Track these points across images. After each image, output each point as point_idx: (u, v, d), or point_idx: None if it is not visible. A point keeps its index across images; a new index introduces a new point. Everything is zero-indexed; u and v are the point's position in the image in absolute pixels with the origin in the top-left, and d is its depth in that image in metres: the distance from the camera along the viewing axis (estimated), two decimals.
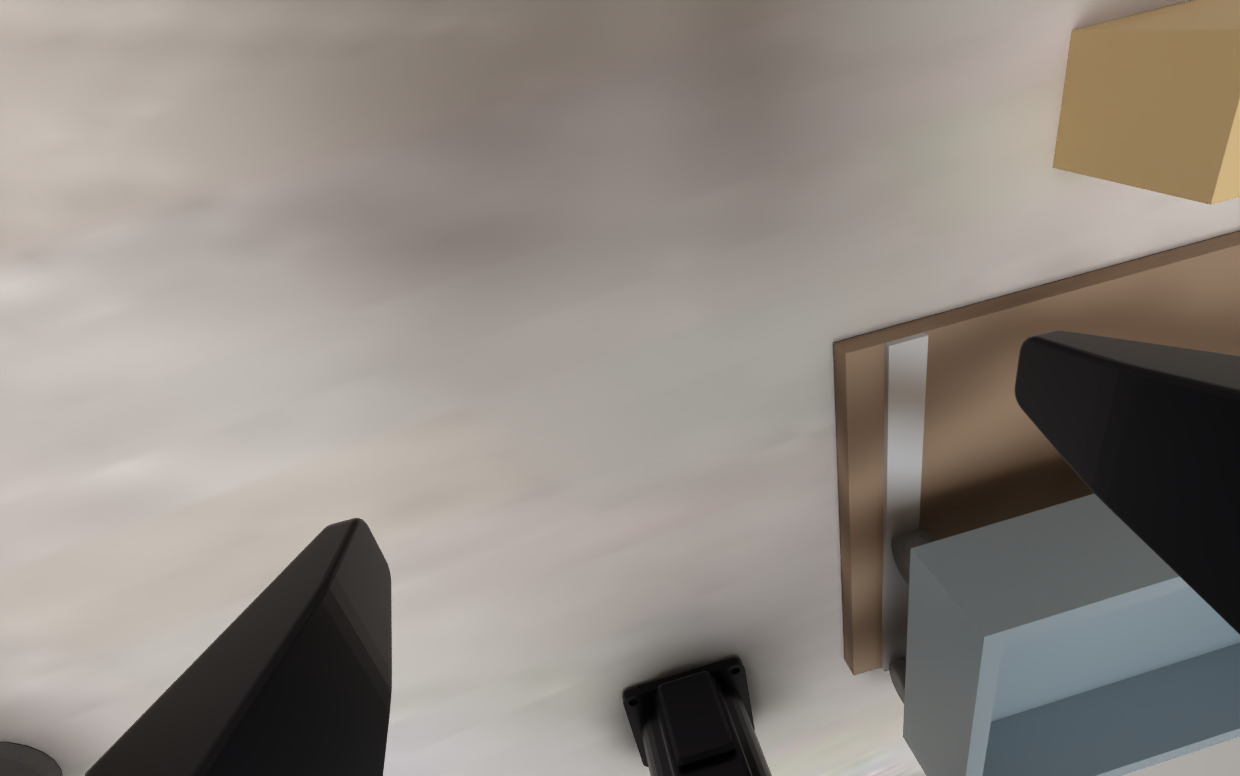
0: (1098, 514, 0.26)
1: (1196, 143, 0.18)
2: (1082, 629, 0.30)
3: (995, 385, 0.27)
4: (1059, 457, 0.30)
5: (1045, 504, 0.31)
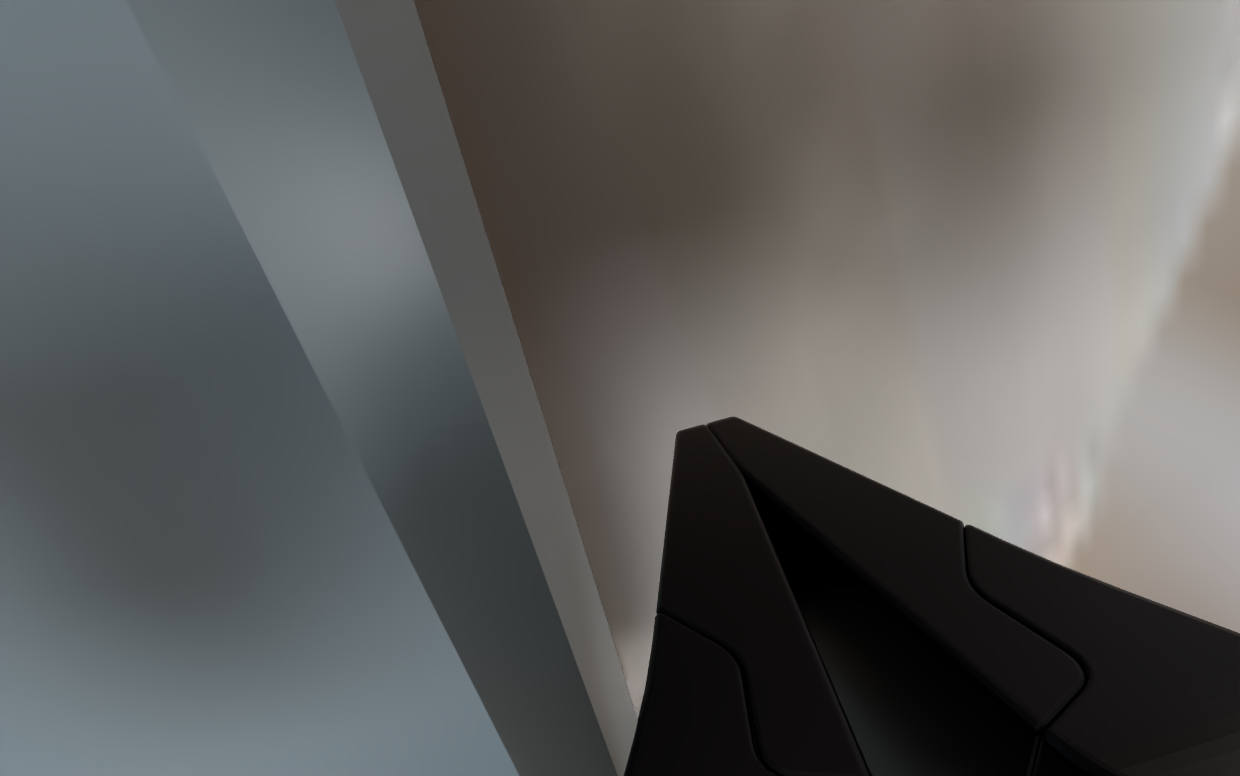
0: None
1: None
2: (163, 693, 0.09)
3: None
4: None
5: None
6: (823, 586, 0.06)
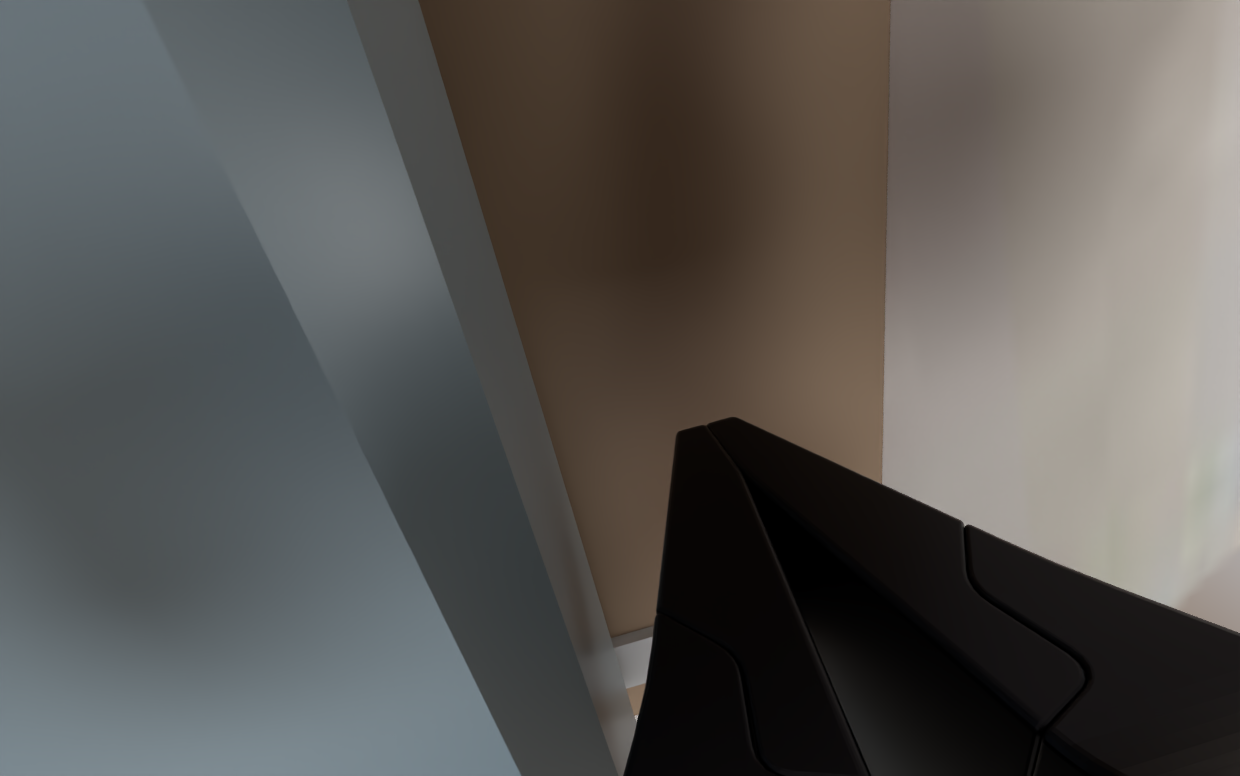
0: None
1: None
2: (161, 690, 0.09)
3: None
4: None
5: None
6: (823, 586, 0.06)
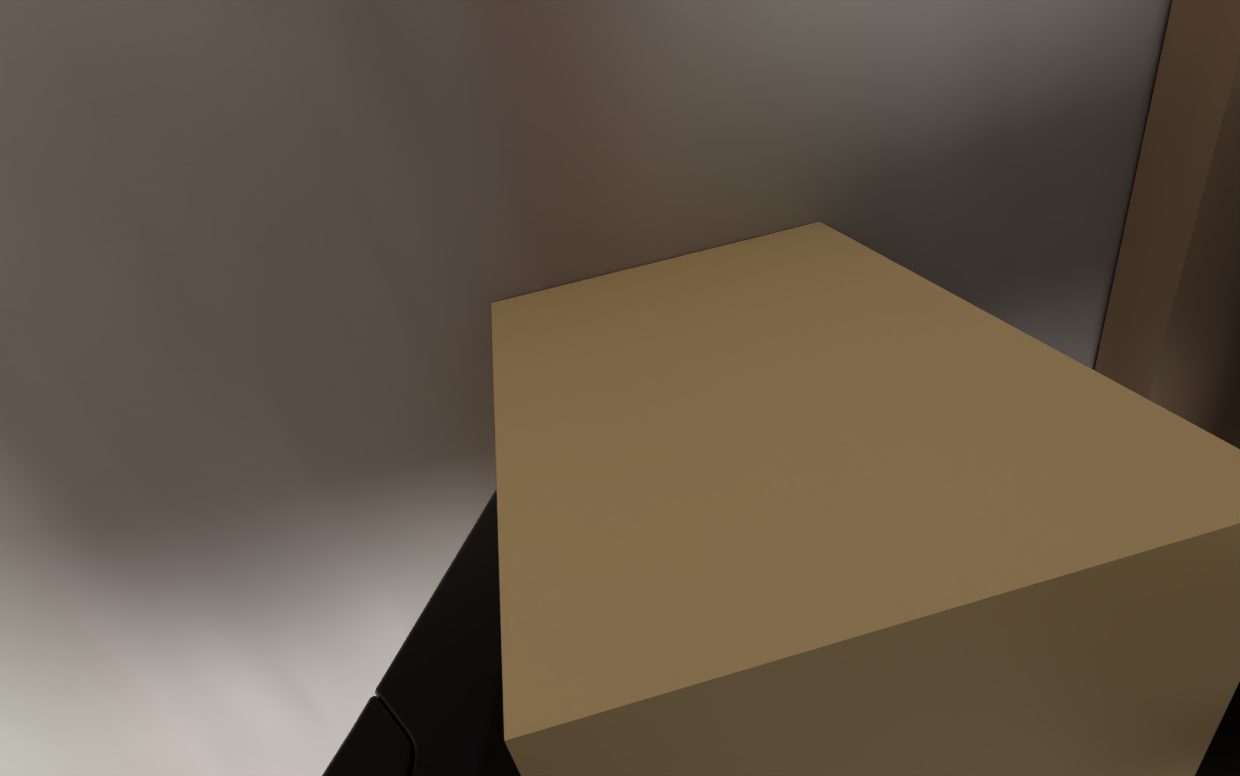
0: None
1: None
2: None
3: None
4: None
5: None
6: None
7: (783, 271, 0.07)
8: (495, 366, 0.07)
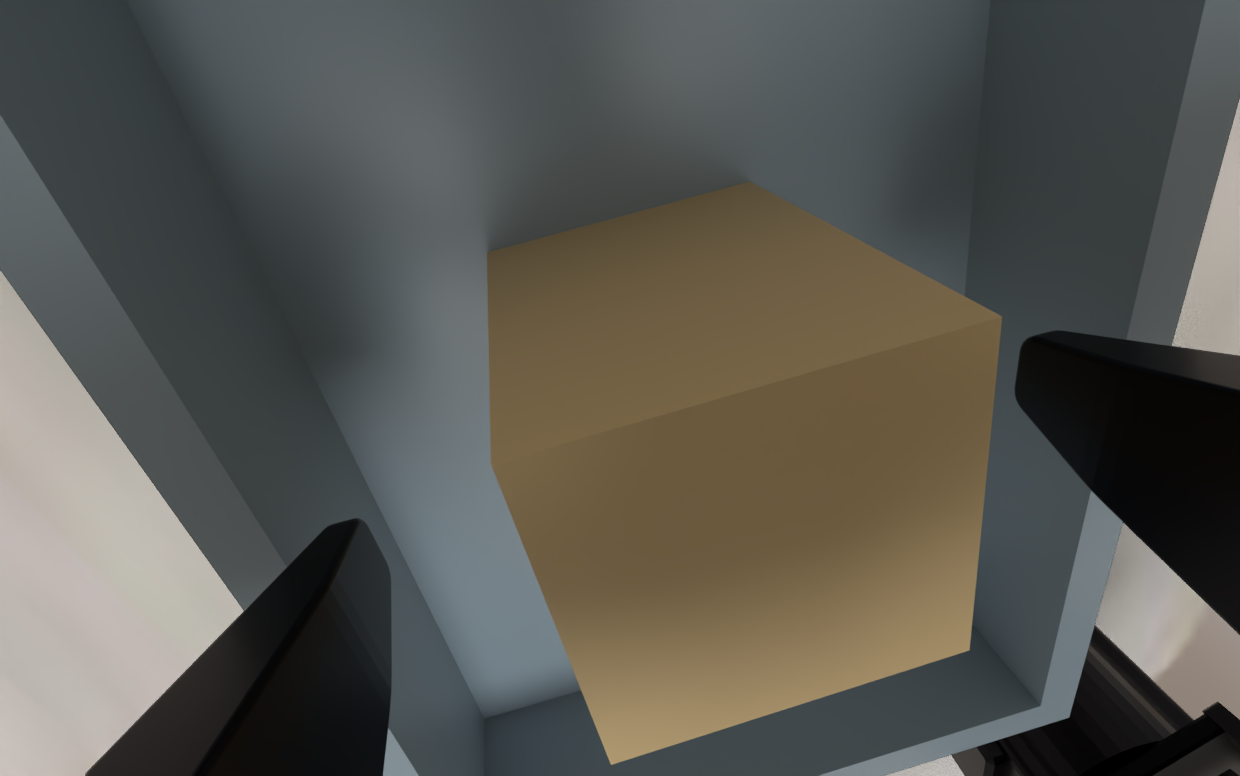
0: None
1: None
2: None
3: None
4: None
5: None
6: None
7: (713, 217, 0.09)
8: (489, 291, 0.09)
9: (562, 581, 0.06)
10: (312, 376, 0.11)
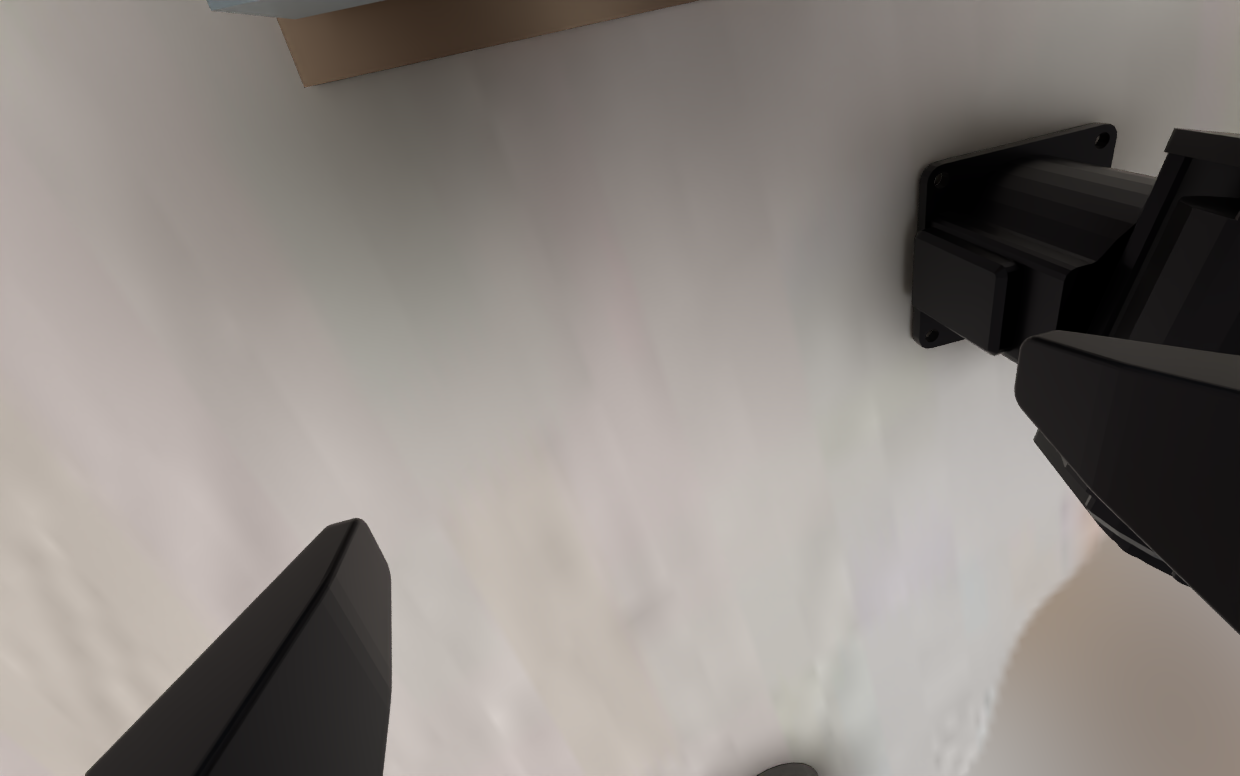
0: None
1: None
2: None
3: None
4: None
5: None
6: None
7: None
8: None
9: None
10: None
